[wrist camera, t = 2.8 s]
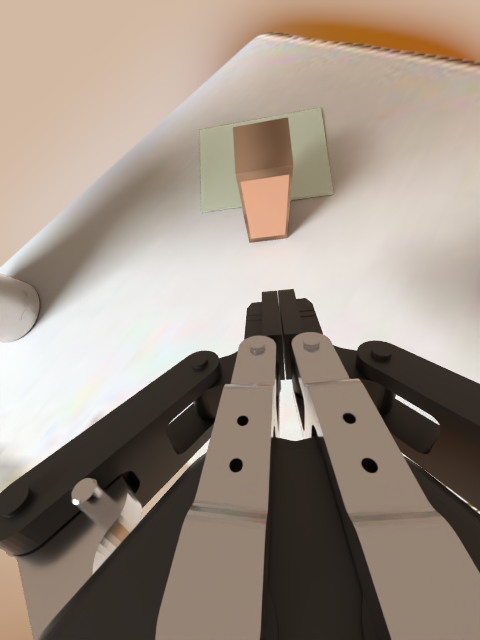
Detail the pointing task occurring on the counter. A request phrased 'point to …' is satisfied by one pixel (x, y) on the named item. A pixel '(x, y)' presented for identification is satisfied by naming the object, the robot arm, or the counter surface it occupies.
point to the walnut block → (264, 177)
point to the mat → (306, 153)
